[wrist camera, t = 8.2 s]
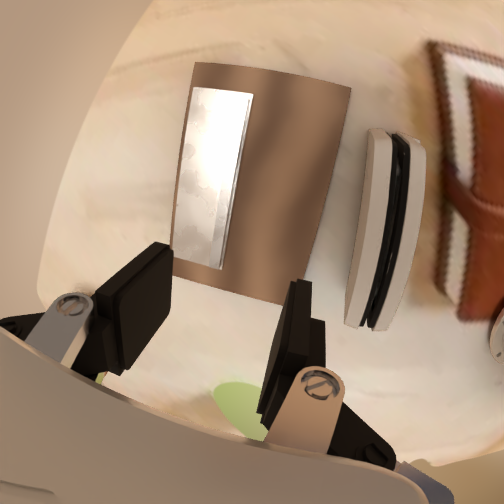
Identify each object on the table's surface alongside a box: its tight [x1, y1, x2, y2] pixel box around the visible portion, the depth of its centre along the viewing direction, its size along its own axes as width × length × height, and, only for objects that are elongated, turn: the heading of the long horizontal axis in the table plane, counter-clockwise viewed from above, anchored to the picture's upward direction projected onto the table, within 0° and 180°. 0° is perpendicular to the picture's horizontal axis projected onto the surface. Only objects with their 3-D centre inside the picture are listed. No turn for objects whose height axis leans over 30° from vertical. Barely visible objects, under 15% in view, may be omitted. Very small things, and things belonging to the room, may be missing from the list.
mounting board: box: [170, 62, 351, 306], centre depth 28 cm, size 14×22×1 cm, turn 169°
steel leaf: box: [172, 87, 254, 270], centre depth 27 cm, size 6×17×1 cm, turn 169°
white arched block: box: [344, 129, 426, 331], centre depth 23 cm, size 17×5×10 cm, turn 178°
